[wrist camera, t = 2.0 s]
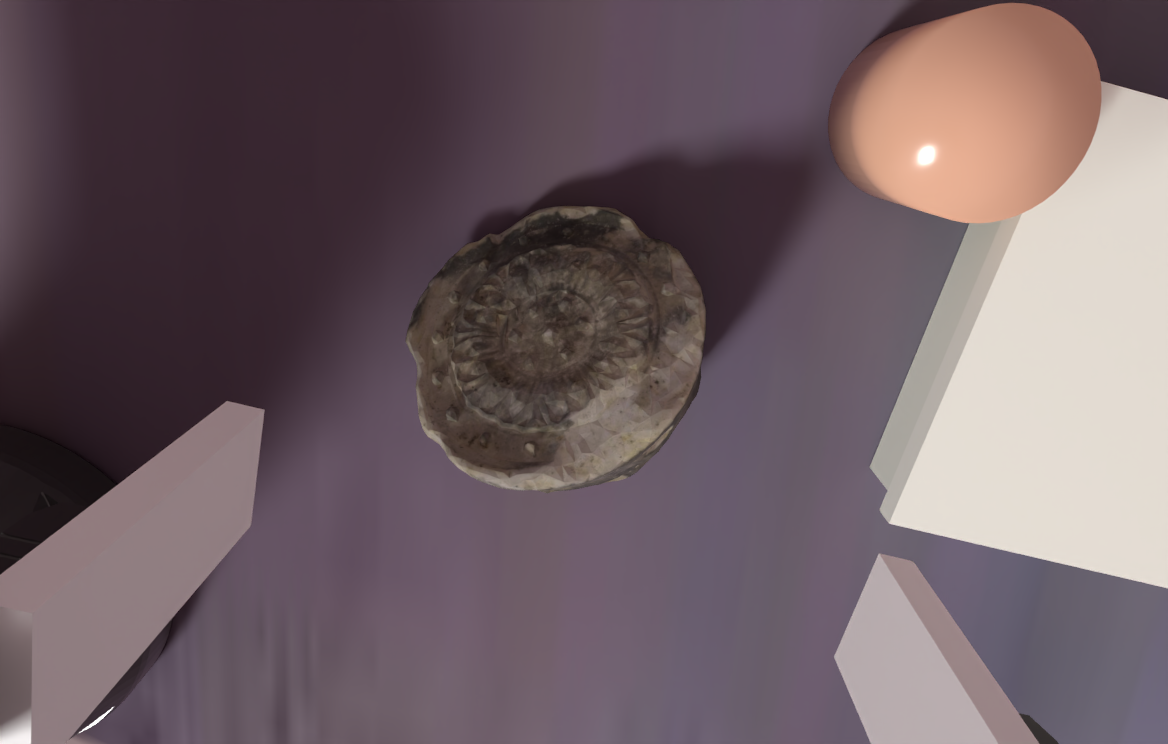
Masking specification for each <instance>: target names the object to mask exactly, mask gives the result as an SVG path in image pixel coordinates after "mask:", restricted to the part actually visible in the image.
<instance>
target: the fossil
mask: <svg viewBox="0 0 1168 744" xmlns="http://www.w3.org/2000/svg"><path fill="white" fill-rule="evenodd" d="M705 335H706V308H705V303H704V298H703V294H702V290H701V287H700V284H699V283H698V281H697V279H696V277H695V276H694V274H693V272H692V271H691V269H690V267H689V266H688V264H687V263H686V261H685V259H684V258H683V256H682V255H681V253H680V251H679V250H677V249H676V248H674V247H672V246H671V245H670V244H669V243H666V242H663V241H660V240H657V239H651V238H649V237H648V236H646V235H645V234H644V233H643V232H642V231H641V230H640V229H639V228H638V227H637V225H636V223H635V222H634V221H633V220H632V219H631V218H629V217H628V216H626V215H624V214H622V213H621V212H619V211H618V210H616V209H614V208H609V207H593V206H557V207H549V208H544V209H540V210H537V211H535V212H532V213H531V214H529V215H528V216H526V217H525V218H523V219H521V220H520V221H519V222H517V223H516V224H515V225H513V226H512V227H510V228H509V229H507V230H506V231H504V232H502V233H501V234H499V235H495V234H488V235H486V236H485V237H483V238H482V239H481V240H480V241H477V242H473V243H468V244H467V245H465V246H464V247H463V248H462V249H460V250H459V251H458V252H457V253H456V254H455V255H454V256H453V257H452V258H450V259H449V260H448V262H447V263H446V264H445V265H444V267H443V268H442V269H441V270H440V271H439V272H438V273H437V275H436V276H435V277H434V278H433V279H432V280H431V281H430V282H429V284H428V287H427V289H426V290H425V291H424V293H423V294H422V296H421V297H420V299H419V301H418V304H417V306H416V308H415V309H414V311H413V314H412V317H411V321H410V324H409V328H408V331H407V337H406V343H407V345H408V347H409V350H410V352H411V353H412V355H413V357H414V359H415V361H416V363H417V382H416V392H417V401H418V412H419V418H420V421H421V425H422V428H423V430H424V431H425V433H426V434H427V436H428V437H429V438H431V439H432V440H434V441H435V442H437V443H438V444H440V445H441V447H442V448H443V449H444V450H445V452H446V454H447V457H448V458H449V459H450V460H451V461H452V462H453V463H454V464H455V465H456V466H457V467H458V468H459V469H461V470H462V471H464V472H465V473H467V474H468V475H469V476H471V477H473V478H475V479H477V480H479V481H481V482H484V483H487V484H490V485H492V486H495V487H498V488H503V489H511V490H538V491H541V492H545V493H549V492H553V491H562V490H572V489H579V488H583V487H588V486H593V485H599V484H602V483H606V482H611V481H619V480H622V479H625V478H628V477H630V476H631V475H633V474H635V473H636V472H637V471H638V470H639V469H640V468H641V467H642V466H643V465H644V464H645V463H646V462H647V461H648V460H650V459H651V458H652V457H653V456H654V455H655V454H656V453H657V452H659V450H660V448H661V447H662V446H663V445H664V444H665V442H666V441H667V440H668V439H669V437H670V435H671V434H672V432H673V431H674V429H675V428H676V426H677V425H678V423H679V422H680V420H681V419H682V418H683V416H684V415H685V413H686V411H687V409H688V408H689V407H690V404H691V402H692V401H693V400H694V398H695V397H696V395H697V392H698V389H699V385H700V380H701V363H702V357H703V347H704V340H705Z"/></svg>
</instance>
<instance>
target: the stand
mask: <svg viewBox="0 0 1168 744" xmlns="http://www.w3.org/2000/svg"><path fill="white" fill-rule="evenodd" d="M870 468H871V470H872V471H873V472H874V473H875V475H876V476H877V477H878V479H879V480H880V481H881V483H882V484H883V485H884V486H885V488H886V489H887V490H888V491H887V493H886V496H885V498H884V500H883V503H882V505H881V508H880V512H881V513H882V515H883V516H884V517H885V519H886V520H887V521H888V523H889V524H893V525H898V526H902V527H906V528H911V529H915V530H919V531H924V532H928V533H932V534H936V535H941V536H945V537H949V538H954V539H958V540H962V541H967V542H971V543H975V544H980V545H984V546H988V547H993V548H997V549H1001V550H1005V551H1010V552H1014V553H1018V554H1023V555H1027V556H1031V557H1036V558H1040V559H1044V560H1049V561H1053V562H1057V563H1061V564H1066V565H1070V566H1074V567H1079V568H1083V569H1087V570H1092V571H1096V572H1100V573H1105V574H1109V575H1113V576H1118V577H1122V578H1126V579H1130V580H1135V581H1139V582H1143V583H1148V584H1152V585H1156V586H1161V587H1165V588H1168V100H1167V99H1164V98H1160V97H1156V96H1153V95H1149V94H1146V93H1142V92H1138V91H1135V90H1131V89H1128V88H1124V87H1120V86H1117V85H1113V84H1110V83H1106V82H1102V81H1101V109H1100V116H1099V120H1098V124H1097V128H1096V132H1095V134H1094V137H1093V140H1092V142H1091V145H1090V147H1089V149H1088V151H1087V152H1086V154H1085V156H1084V158H1083V160H1082V161H1081V163H1080V164H1079V166H1078V167H1077V169H1076V170H1075V171H1074V173H1073V174H1072V175H1071V176H1070V178H1069V179H1068V180H1067V181H1066V182H1065V183H1064V184H1063V185H1062V186H1061V187H1060V188H1059V189H1058V190H1057V191H1056V192H1055V193H1054V194H1052V195H1051V196H1050V197H1048V198H1047V199H1046V200H1045V201H1043V202H1042V203H1040V204H1038V205H1037V206H1035V207H1034V208H1032V209H1030V210H1028V211H1026V212H1024V213H1022V214H1020V215H1017V216H1014V217H1011V218H1008V219H1005V220H1001V221H996V222H990V223H969V226H968V228H967V231H966V233H965V236H964V238H963V240H962V243H961V245H960V248H959V250H958V253H957V255H956V258H955V260H954V262H953V265H952V267H951V270H950V272H949V275H948V277H947V280H946V282H945V284H944V287H943V289H942V292H941V294H940V297H939V299H938V302H937V304H936V306H935V309H934V311H933V314H932V316H931V319H930V321H929V323H928V326H927V328H926V331H925V333H924V336H923V338H922V341H921V343H920V345H919V348H918V350H917V353H916V355H915V358H914V360H913V363H912V365H911V367H910V370H909V372H908V375H907V377H906V380H905V382H904V385H903V387H902V389H901V392H900V394H899V397H898V399H897V402H896V404H895V407H894V409H893V411H892V414H891V416H890V419H889V421H888V424H887V426H886V429H885V431H884V433H883V436H882V438H881V441H880V443H879V446H878V448H877V451H876V453H875V455H874V458H873V460H872V463H871V465H870Z"/></svg>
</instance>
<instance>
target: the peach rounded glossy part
mask: <svg viewBox="0 0 1168 744" xmlns="http://www.w3.org/2000/svg"><path fill="white" fill-rule="evenodd" d="M1100 109H1101V80H1100V73H1099V69H1098V66H1097V62H1096V59H1095V57H1094V55H1093V52H1092V50H1091V48H1090V46H1089V45H1088V43H1087V42H1086V40H1085V39H1084V37H1083V36H1082V34H1081V33H1080V32H1079V31H1078V30H1077V29H1076V28H1075V27H1074V26H1073V25H1072V24H1071V23H1069V22H1068V21H1067V20H1066V19H1064V18H1063V17H1061V16H1060V15H1058V14H1056V13H1054V12H1053V11H1050V10H1048V9H1045V8H1042V7H1039V6H1035V5H1030V4H1025V3H1003V4H995V5H990V6H986V7H982V8H978V9H974V10H971V11H967V12H963V13H960V14H956V15H952V16H949V17H945V18H941V19H938V20H934V21H930V22H927V23H923V24H919V25H915V26H912V27H908V28H904V29H901V30H898V31H895V32H892V33H890V34H887V35H885V36H884V37H882V38H880V39H878V40H876V41H875V42H873V43H872V44H871V45H869V46H868V47H867V48H865V49H864V50H863V51H862V52H861V53H860V54H859V55H858V56H857V57H856V58H855V59H854V60H853V61H852V62H851V64H850V65H849V66H848V68H847V69H846V71H845V72H844V73H843V75H842V77H841V79H840V81H839V83H838V84H837V87H836V89H835V92H834V94H833V97H832V101H831V105H830V110H829V117H828V134H829V142H830V146H831V150H832V153H833V155H834V158H835V160H836V162H837V164H838V166H839V168H840V169H841V171H842V172H843V174H844V175H845V176H846V177H847V179H848V180H850V181H851V182H852V183H853V184H854V185H855V186H856V187H858V188H859V189H860V190H862V191H863V192H865V193H867V194H869V195H871V196H874V197H877V198H880V199H883V200H886V201H890V202H893V203H896V204H900V205H903V206H906V207H910V208H913V209H916V210H920V211H923V212H926V213H930V214H933V215H936V216H940V217H943V218H946V219H950V220H953V221H958V222H964V223H990V222H996V221H1001V220H1005V219H1008V218H1011V217H1014V216H1017V215H1020V214H1022V213H1024V212H1026V211H1028V210H1030V209H1032V208H1034V207H1035V206H1037V205H1038V204H1040V203H1042V202H1043V201H1045V200H1046V199H1047V198H1048V197H1050V196H1051V195H1052V194H1054V193H1055V192H1056V191H1057V190H1058V189H1059V188H1060V187H1061V186H1062V185H1063V184H1064V183H1065V182H1066V181H1067V180H1068V179H1069V178H1070V176H1071V175H1072V174H1073V173H1074V171H1075V170H1076V169H1077V167H1078V166H1079V164H1080V163H1081V161H1082V160H1083V158H1084V156H1085V154H1086V152H1087V151H1088V149H1089V147H1090V145H1091V142H1092V140H1093V137H1094V134H1095V132H1096V128H1097V124H1098V120H1099V116H1100Z"/></svg>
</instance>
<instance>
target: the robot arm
mask: <svg viewBox="0 0 1168 744" xmlns="http://www.w3.org/2000/svg"><path fill="white" fill-rule="evenodd" d="M264 411H265V410H264V409H259V408H255V407H251V406H246V405H242V404H238V403H234V402H229V401H226V402H225V403H224V404H222V405H221V406H220V407H218V408H217V409H216V410H215V411H213V412H212V413H211V414H209V415H208V416H207V417H205V418H204V419H203V420H202V421H200V422H199V423H198V424H196V425H195V426H194V427H192V428H191V429H190V430H188V431H187V432H186V433H185V434H183V435H182V436H181V437H179V438H178V439H177V440H175V441H174V442H173V443H172V444H170V445H169V446H168V447H166V448H165V449H164V450H162V451H161V452H160V453H158V454H157V455H156V456H155V457H153V458H152V459H151V460H149V461H148V462H147V463H145V464H144V465H143V466H141V467H140V468H139V469H138V470H136V471H135V472H134V473H132V474H131V475H130V476H128V477H127V478H126V479H125V480H123V481H122V482H121V483H119V484H118V485H116V484H115V483H113V482H112V481H111V480H110V479H109V478H108V477H107V476H105V475H104V474H103V473H102V472H100V471H99V470H98V469H97V468H95V467H94V466H93V465H91V464H90V463H88V462H87V461H85V460H84V459H82V458H81V457H79V456H77V455H76V454H74V453H73V452H71V451H69V450H67V449H65V448H64V447H62V446H60V445H58V444H56V443H54V442H51V441H49V440H47V439H45V438H42V437H40V436H37V435H35V434H32V433H29V432H26V431H23V430H20V429H17V428H13V427H9V426H5V425H1V424H0V744H65V743H66V742H67V741H68V740H69V739H71V738H72V737H74V736H75V735H77V734H79V733H81V732H83V731H84V730H86V729H88V728H90V727H92V726H94V725H95V724H97V723H98V722H100V721H101V720H103V719H104V718H105V717H106V716H108V715H109V714H110V713H111V712H112V711H114V710H115V709H116V708H117V707H118V706H119V705H120V704H121V703H122V702H123V701H124V700H125V699H126V698H127V696H128V695H129V694H130V693H131V692H132V690H133V689H134V688H135V687H136V685H137V684H138V683H139V682H140V681H141V679H142V678H143V677H144V676H145V674H146V673H147V672H148V671H149V669H150V668H151V667H152V666H153V664H154V663H155V661H156V660H157V658H158V657H159V655H160V653H161V652H162V650H163V648H164V645H165V643H166V641H167V638H168V635H169V632H170V628H171V623H172V618H173V617H174V615H175V614H176V613H177V612H178V611H179V610H180V608H181V607H182V606H183V605H184V604H185V602H186V601H187V600H188V599H189V598H190V597H191V595H192V594H193V593H194V592H195V591H196V590H197V588H198V587H199V586H200V585H201V584H202V583H203V581H204V580H205V579H206V578H207V577H208V575H209V574H210V573H211V572H212V571H213V570H214V568H215V567H216V566H217V565H218V564H219V563H220V561H221V560H222V559H223V558H224V557H225V556H226V554H227V553H228V552H229V551H230V550H231V548H232V547H233V546H234V545H235V544H236V543H237V541H238V540H239V539H240V538H241V537H242V536H243V534H244V533H245V532H246V531H247V530H248V529H249V527H250V526H251V520H252V512H253V503H254V495H255V487H256V478H257V470H258V462H259V453H260V445H261V437H262V428H263V420H264ZM834 658H835V660H836V663H837V665H838V667H839V670H840V672H841V674H842V677H843V679H844V681H845V684H846V686H847V688H848V691H849V693H850V695H851V698H852V700H853V702H854V705H855V707H856V710H857V712H858V714H859V717H860V719H861V721H862V724H863V726H864V728H865V731H866V733H867V735H868V738H869V740H870V742H871V744H1058V742H1057V741H1056V740H1055V739H1054V738H1053V737H1052V736H1051V735H1050V734H1048V733H1047V732H1046V731H1045V730H1044V729H1043V728H1042V727H1041V726H1040V725H1039V724H1038V723H1037V722H1035V721H1034V720H1033V719H1032V718H1031V717H1030V716H1029V715H1024V714H1020V713H1018V712H1017V711H1016V709H1015V708H1014V706H1013V705H1012V703H1011V702H1010V701H1009V699H1008V698H1007V696H1006V695H1005V693H1004V692H1003V690H1002V689H1001V688H1000V686H999V685H998V683H997V682H996V680H995V679H994V677H993V676H992V675H991V673H990V672H989V670H988V669H987V667H986V666H985V664H984V663H983V662H982V660H981V659H980V657H979V656H978V654H977V653H976V651H975V650H974V649H973V647H972V646H971V644H970V643H969V641H968V640H967V638H966V637H965V636H964V634H963V633H962V631H961V630H960V628H959V627H958V626H957V624H956V623H955V621H954V620H953V618H952V617H951V615H950V614H949V613H948V611H947V610H946V608H945V607H944V605H943V604H942V602H941V601H940V600H939V598H938V597H937V595H936V594H935V592H934V591H933V589H932V588H931V587H930V585H929V584H928V582H927V581H926V579H925V578H924V576H923V575H922V574H921V572H920V571H919V569H918V568H917V566H916V565H915V563H914V562H913V561H909V560H905V559H901V558H896V557H892V556H888V555H883V554H879V555H878V557H877V559H876V561H875V564H874V566H873V568H872V571H871V573H870V575H869V578H868V580H867V582H866V585H865V587H864V589H863V592H862V594H861V596H860V598H859V601H858V603H857V605H856V608H855V610H854V612H853V615H852V617H851V619H850V622H849V624H848V626H847V629H846V631H845V633H844V635H843V638H842V640H841V642H840V645H839V647H838V649H837V652H836V654H835V656H834Z"/></svg>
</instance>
